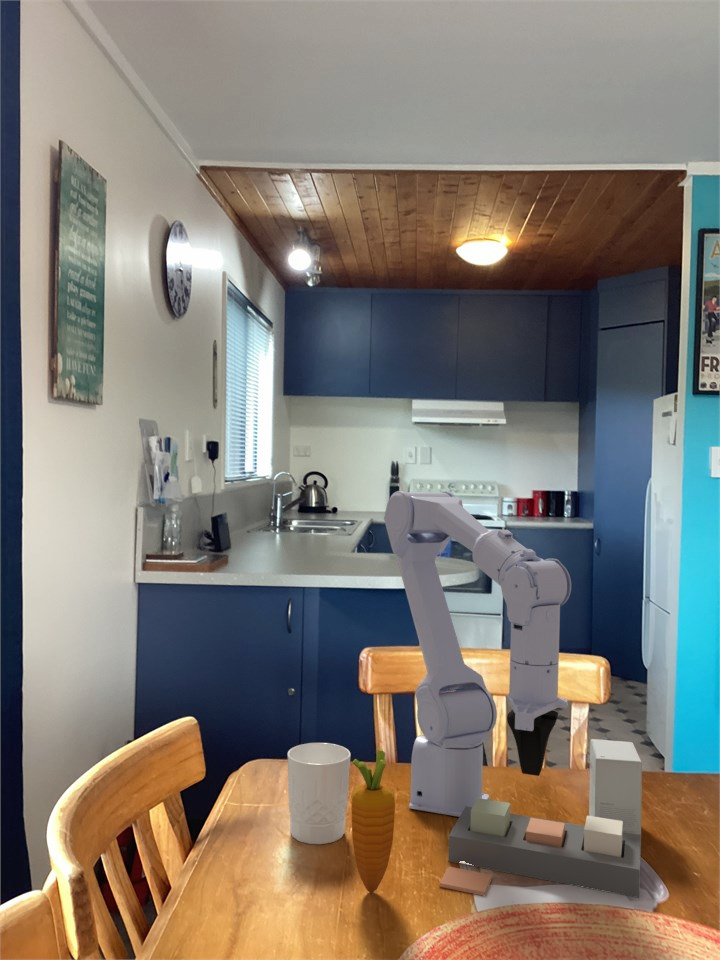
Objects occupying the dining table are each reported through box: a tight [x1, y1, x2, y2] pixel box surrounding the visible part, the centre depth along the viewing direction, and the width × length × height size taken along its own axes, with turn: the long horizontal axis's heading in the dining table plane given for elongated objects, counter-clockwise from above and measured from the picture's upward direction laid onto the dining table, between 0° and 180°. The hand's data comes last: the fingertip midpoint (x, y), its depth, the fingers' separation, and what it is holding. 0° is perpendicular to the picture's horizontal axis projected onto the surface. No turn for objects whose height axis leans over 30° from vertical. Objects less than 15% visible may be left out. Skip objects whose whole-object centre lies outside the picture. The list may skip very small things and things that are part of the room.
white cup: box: [287, 742, 351, 845], centre depth 100 cm, size 8×8×10 cm
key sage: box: [470, 798, 511, 837], centre depth 96 cm, size 4×4×4 cm
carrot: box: [351, 749, 396, 894], centre depth 85 cm, size 5×5×15 cm
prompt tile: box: [439, 866, 493, 896], centre depth 88 cm, size 5×4×1 cm
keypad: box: [447, 806, 642, 898], centre depth 93 cm, size 21×9×3 cm, turn 70°
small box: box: [588, 738, 643, 836], centre depth 102 cm, size 8×6×10 cm
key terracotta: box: [526, 817, 566, 847], centre depth 93 cm, size 4×4×4 cm
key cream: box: [584, 815, 623, 857], centre depth 91 cm, size 4×4×4 cm
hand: (531, 772), depth 96 cm, fingers closed
